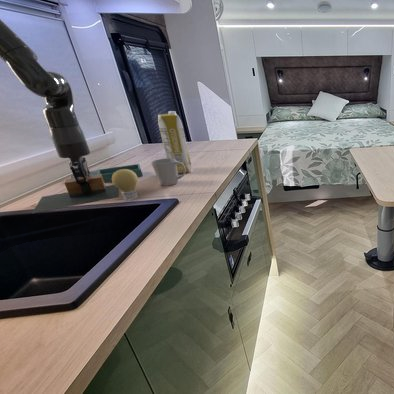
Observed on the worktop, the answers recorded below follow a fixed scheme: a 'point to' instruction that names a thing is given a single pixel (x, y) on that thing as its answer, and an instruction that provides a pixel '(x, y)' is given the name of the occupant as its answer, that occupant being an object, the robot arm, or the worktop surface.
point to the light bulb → (126, 183)
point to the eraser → (94, 182)
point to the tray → (109, 171)
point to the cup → (167, 171)
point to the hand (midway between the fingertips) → (88, 191)
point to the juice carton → (174, 140)
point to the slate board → (74, 199)
